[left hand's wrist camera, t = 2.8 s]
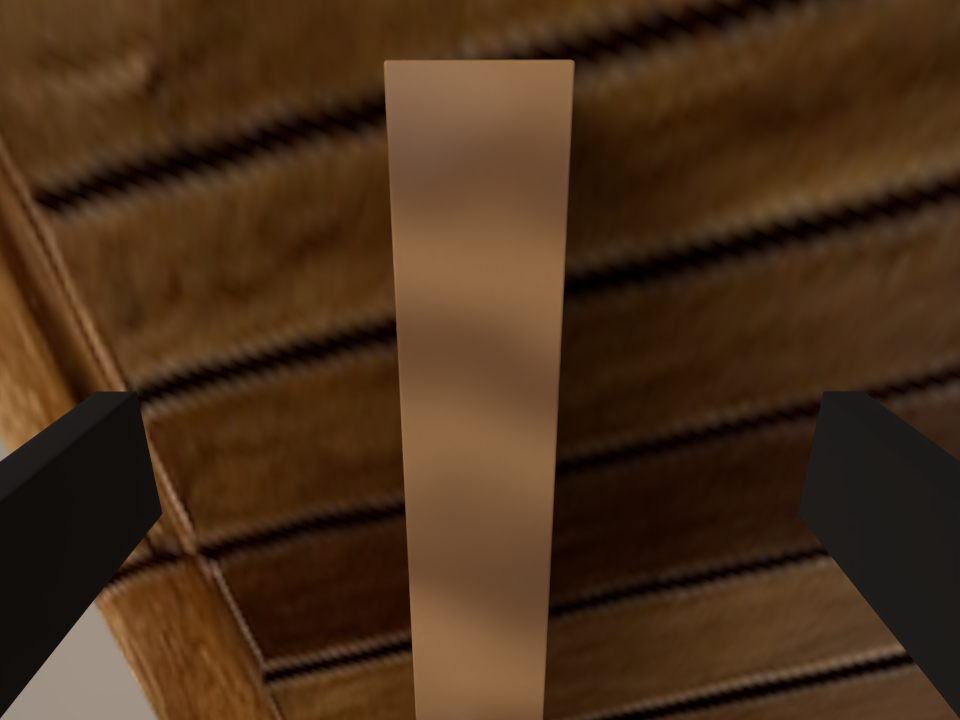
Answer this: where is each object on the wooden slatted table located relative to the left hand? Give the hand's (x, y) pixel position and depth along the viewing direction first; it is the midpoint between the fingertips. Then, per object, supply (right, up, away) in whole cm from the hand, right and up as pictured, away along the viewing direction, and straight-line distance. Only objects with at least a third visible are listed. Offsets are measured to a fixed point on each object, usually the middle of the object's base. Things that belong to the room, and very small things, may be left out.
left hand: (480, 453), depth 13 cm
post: (0, -14, +21) cm, 25 cm away
